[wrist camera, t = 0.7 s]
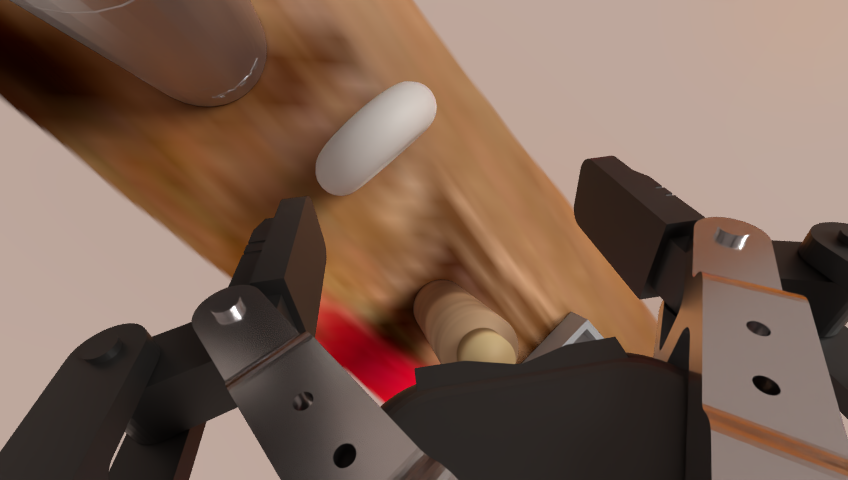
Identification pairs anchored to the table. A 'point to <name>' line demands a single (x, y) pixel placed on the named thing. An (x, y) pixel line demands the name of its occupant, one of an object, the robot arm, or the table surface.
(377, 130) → the donut
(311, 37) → the table surface
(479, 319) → the pepper mill
